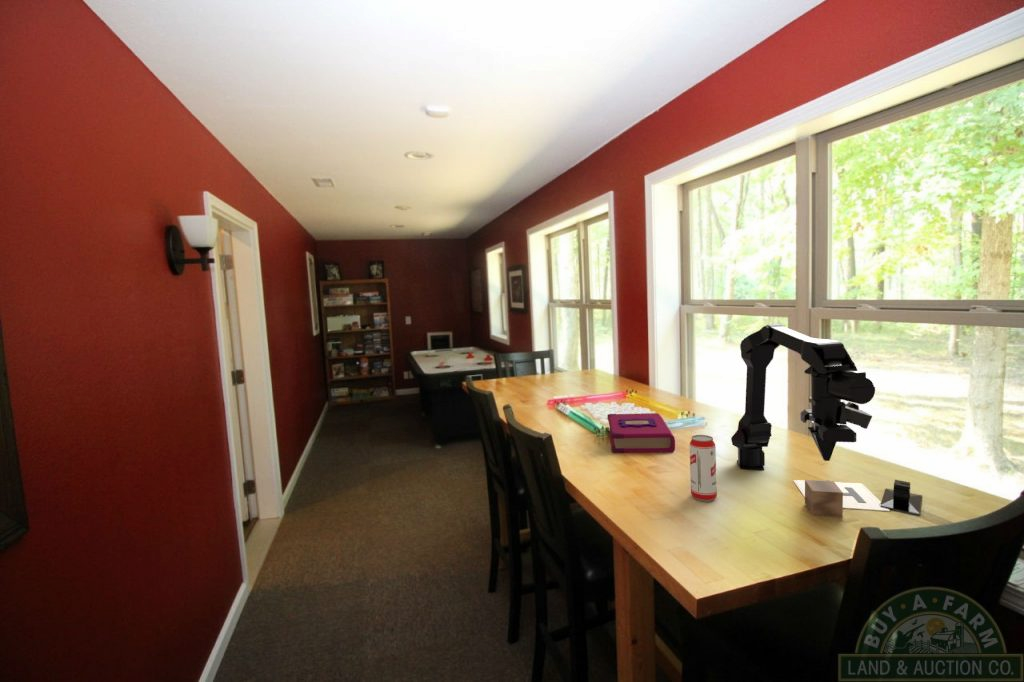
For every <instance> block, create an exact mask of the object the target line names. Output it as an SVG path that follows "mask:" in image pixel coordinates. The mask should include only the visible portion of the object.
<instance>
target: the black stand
mask: <svg viewBox="0 0 1024 682" xmlns="http://www.w3.org/2000/svg"><path fill="white" fill-rule="evenodd" d="M881 499H882V500H881V503H880V504H879V506H880V507H884V508H888V509H889V510H894V511H897V512H902V513H903V512H904V513H907V514H910V515H911V514H913V515H918V516H920V514H921V508H922V499H923V495H922V494H917V493H912V492H911V482H910V481H905V480H900V479H899V480H898V479H894V482H893V488H885V489H884V492H883V496H882V498H881Z"/></svg>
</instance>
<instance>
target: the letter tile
mask: <svg viewBox="0 0 1024 682" xmlns="http://www.w3.org/2000/svg"><path fill="white" fill-rule="evenodd" d="M805 480H806V479H804V480H803V479H802V480H801V479H800V480H799V479H793V480H792V481H793V483H794V484H795V486H796V487H797V488H798V490H799V491H800V493H801V494H802V495H803V496H802V497H804V498H805ZM834 482H835V484H836V485H837V486H838V487H839V489H840V490H841V491H842V492H843V509H845V510H847V509H849V510H865V511H878V512H891V509H888V508H884V507H880V506H879V504H880V503H881V502H882V500H881V501H880V499H878V497H877V496H875V495H874V494H873V493H872V492H871V490H869V489H868V488H867V487H866V486H865V485H864V484H863V482H862V483H858V482H839V481H834Z"/></svg>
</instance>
